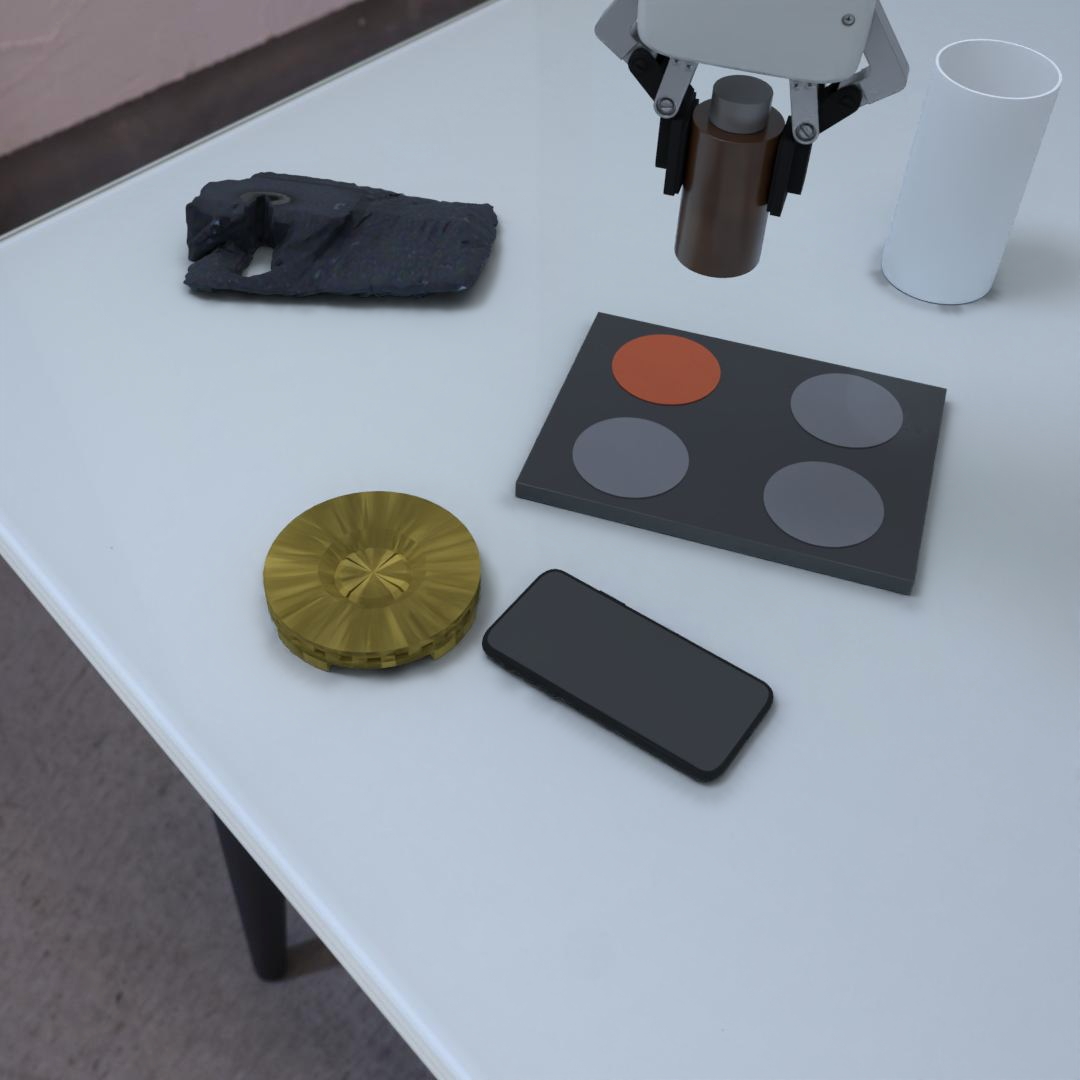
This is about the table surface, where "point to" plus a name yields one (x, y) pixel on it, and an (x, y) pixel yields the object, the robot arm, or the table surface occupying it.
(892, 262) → the cup
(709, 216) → the pepper mill
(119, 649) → the table surface
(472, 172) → the table surface
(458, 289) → the dark slate chunk
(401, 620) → the gold round disc
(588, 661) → the smartphone
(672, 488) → the hob
